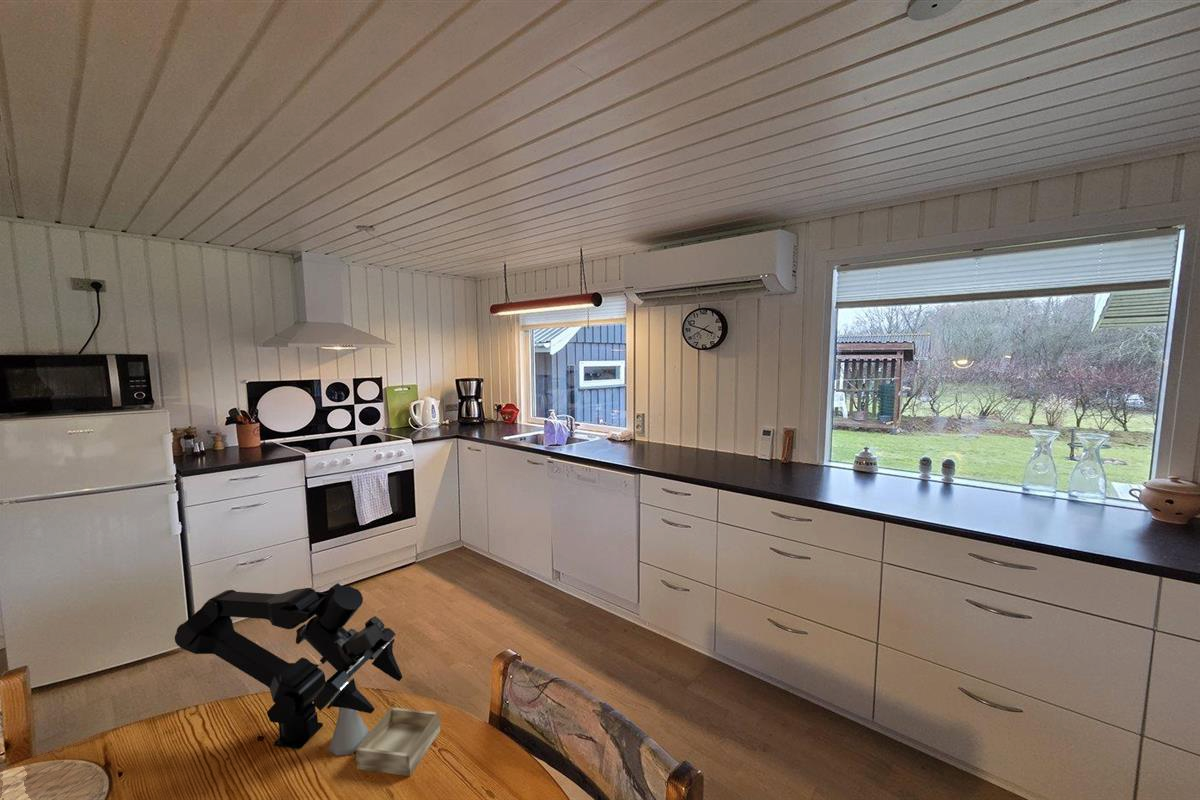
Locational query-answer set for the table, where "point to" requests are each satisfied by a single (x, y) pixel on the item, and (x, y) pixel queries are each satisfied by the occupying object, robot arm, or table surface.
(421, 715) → the crate
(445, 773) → the table surface
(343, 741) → the flask
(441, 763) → the table surface
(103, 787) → the table surface
